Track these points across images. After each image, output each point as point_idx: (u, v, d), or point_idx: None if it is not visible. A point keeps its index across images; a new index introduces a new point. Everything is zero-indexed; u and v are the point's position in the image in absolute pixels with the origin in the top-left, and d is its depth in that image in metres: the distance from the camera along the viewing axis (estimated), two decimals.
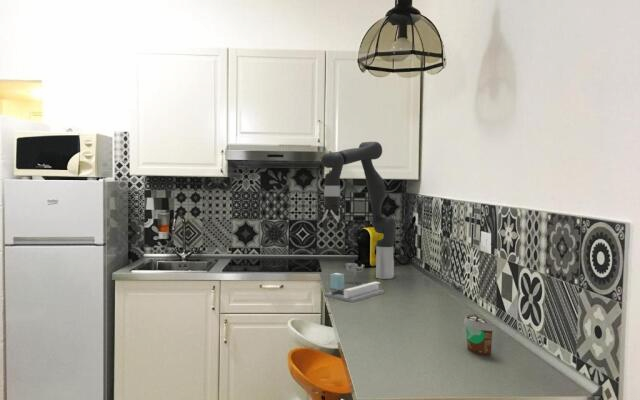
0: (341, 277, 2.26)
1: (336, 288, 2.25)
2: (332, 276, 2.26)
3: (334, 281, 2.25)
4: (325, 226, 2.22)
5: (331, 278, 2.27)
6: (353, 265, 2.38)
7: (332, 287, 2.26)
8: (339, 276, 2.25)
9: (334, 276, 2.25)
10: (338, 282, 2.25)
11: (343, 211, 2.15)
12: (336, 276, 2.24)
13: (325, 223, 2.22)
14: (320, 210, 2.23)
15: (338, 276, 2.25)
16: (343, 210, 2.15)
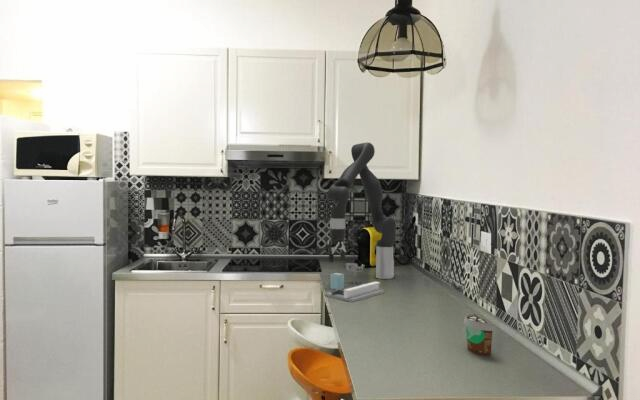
0: (341, 277, 2.26)
1: (336, 288, 2.25)
2: (332, 276, 2.26)
3: (334, 281, 2.25)
4: None
5: (331, 278, 2.27)
6: (353, 265, 2.38)
7: (332, 287, 2.26)
8: (339, 276, 2.25)
9: (334, 276, 2.25)
10: (338, 282, 2.25)
11: None
12: (336, 276, 2.24)
13: None
14: (330, 243, 2.21)
15: (338, 276, 2.25)
16: None
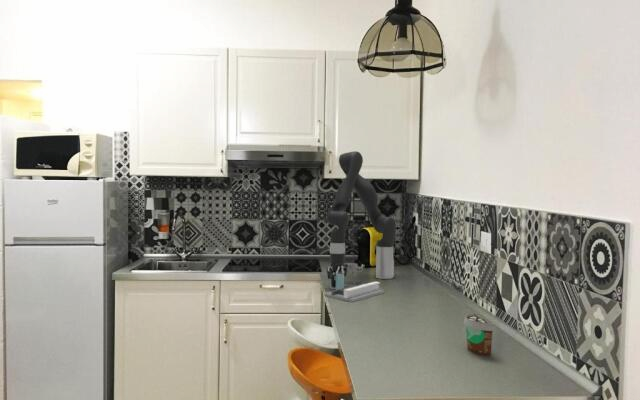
0: (341, 277, 2.26)
1: (336, 288, 2.25)
2: None
3: None
4: None
5: None
6: (353, 265, 2.38)
7: (332, 287, 2.26)
8: (339, 276, 2.25)
9: None
10: (338, 282, 2.25)
11: None
12: (336, 276, 2.24)
13: None
14: (331, 270, 2.22)
15: (338, 276, 2.25)
16: None
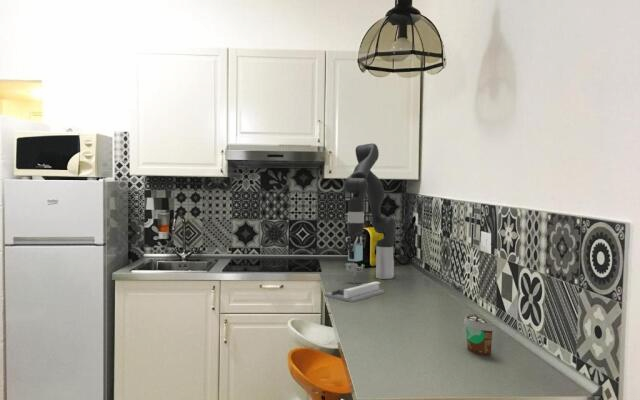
0: (360, 248, 2.14)
1: (354, 259, 2.12)
2: None
3: None
4: None
5: None
6: (353, 265, 2.38)
7: (350, 259, 2.13)
8: (357, 247, 2.12)
9: None
10: (356, 253, 2.12)
11: None
12: (354, 247, 2.12)
13: None
14: (349, 240, 2.09)
15: (356, 247, 2.12)
16: None
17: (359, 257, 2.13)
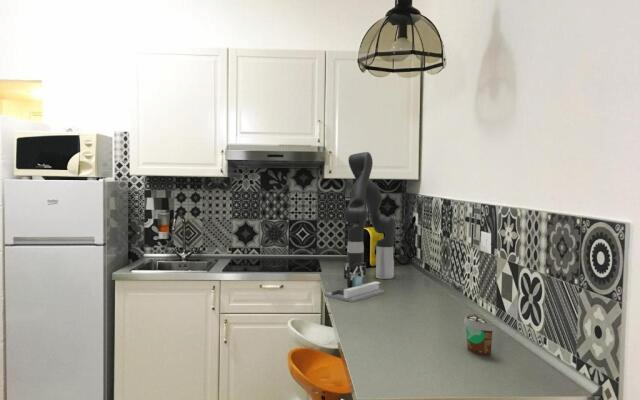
0: (360, 280, 2.14)
1: None
2: None
3: (352, 284, 2.13)
4: None
5: None
6: None
7: None
8: (357, 279, 2.13)
9: (352, 279, 2.13)
10: (356, 285, 2.12)
11: None
12: (354, 279, 2.12)
13: None
14: (349, 269, 2.09)
15: (356, 279, 2.12)
16: None
17: None
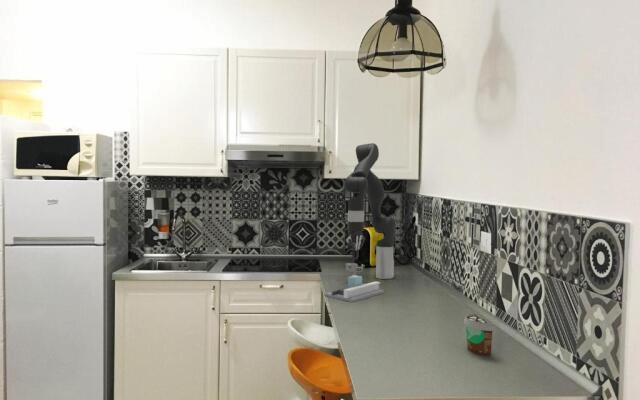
0: (360, 280, 2.14)
1: None
2: (350, 279, 2.14)
3: (352, 284, 2.13)
4: None
5: (348, 281, 2.14)
6: (353, 265, 2.38)
7: None
8: (357, 279, 2.13)
9: (352, 279, 2.13)
10: (356, 285, 2.12)
11: None
12: (354, 279, 2.12)
13: None
14: (351, 241, 2.10)
15: (356, 279, 2.12)
16: None
17: None
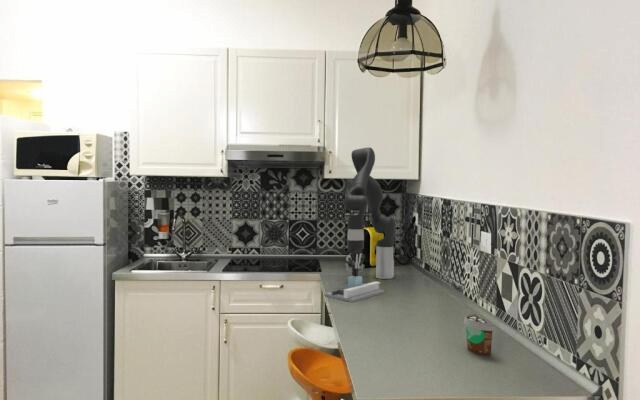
0: (360, 280, 2.14)
1: None
2: (350, 279, 2.14)
3: (352, 284, 2.13)
4: None
5: (348, 281, 2.14)
6: None
7: None
8: (357, 279, 2.13)
9: (352, 279, 2.13)
10: (356, 285, 2.12)
11: None
12: (354, 279, 2.12)
13: None
14: (350, 260, 2.10)
15: (356, 279, 2.12)
16: None
17: None
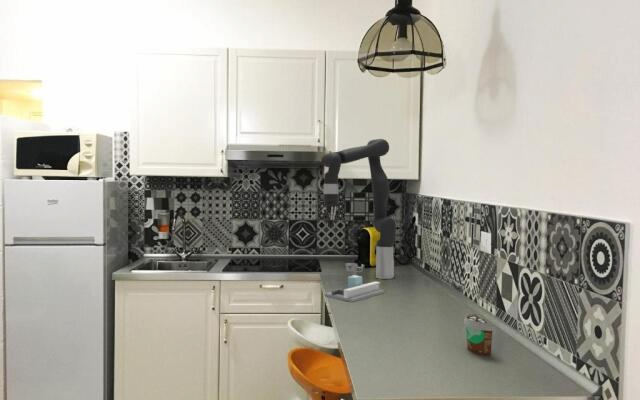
0: (360, 280, 2.14)
1: None
2: (350, 279, 2.14)
3: (352, 284, 2.13)
4: None
5: (348, 281, 2.14)
6: (353, 265, 2.38)
7: None
8: (357, 279, 2.13)
9: (352, 279, 2.13)
10: (356, 285, 2.12)
11: None
12: (354, 279, 2.12)
13: None
14: (326, 211, 2.30)
15: (356, 279, 2.12)
16: None
17: None
